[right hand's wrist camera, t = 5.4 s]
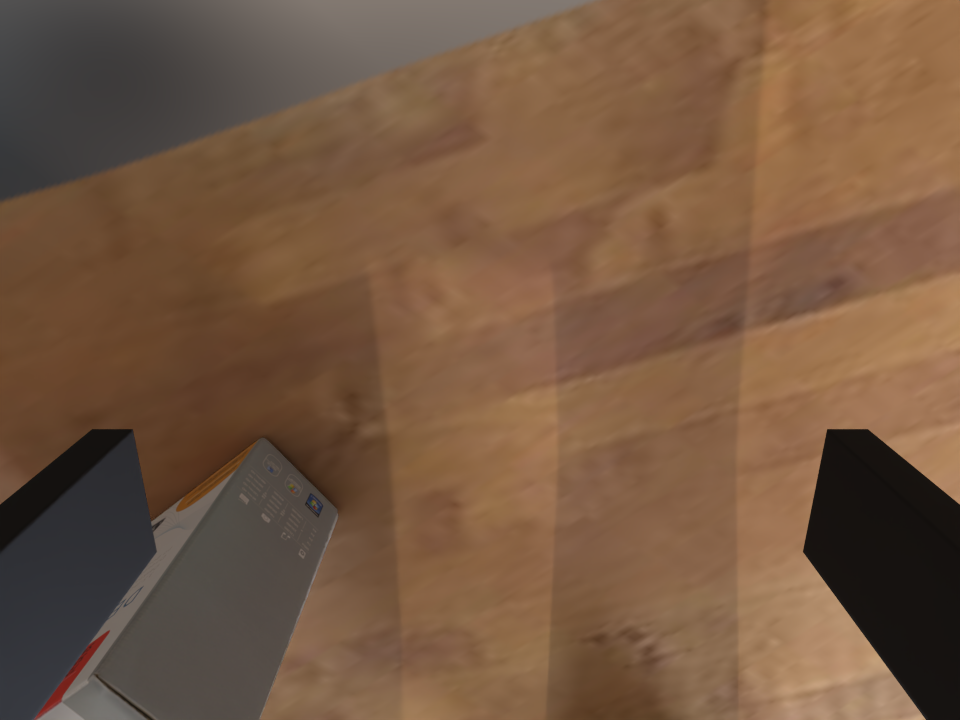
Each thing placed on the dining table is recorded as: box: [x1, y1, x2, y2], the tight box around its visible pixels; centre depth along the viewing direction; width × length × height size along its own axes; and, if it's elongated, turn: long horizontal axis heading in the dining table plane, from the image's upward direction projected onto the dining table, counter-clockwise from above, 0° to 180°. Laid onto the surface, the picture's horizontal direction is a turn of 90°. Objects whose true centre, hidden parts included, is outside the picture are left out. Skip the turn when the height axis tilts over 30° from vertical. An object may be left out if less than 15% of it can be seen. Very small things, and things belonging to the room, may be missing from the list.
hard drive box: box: [34, 438, 338, 720], centre depth 37 cm, size 16×8×20 cm, turn 128°
